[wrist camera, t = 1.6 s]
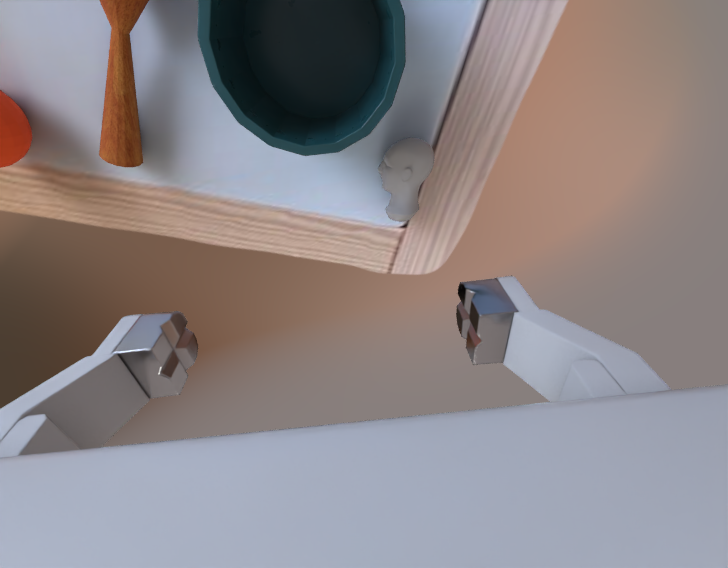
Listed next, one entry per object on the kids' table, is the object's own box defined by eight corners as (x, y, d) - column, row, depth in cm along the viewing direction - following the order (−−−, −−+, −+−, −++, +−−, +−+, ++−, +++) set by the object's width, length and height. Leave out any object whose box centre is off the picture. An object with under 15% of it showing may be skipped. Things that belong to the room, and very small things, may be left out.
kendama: (61, 151, 29) (16, -223, 17) (112, 134, 34) (105, -169, 22) (132, 183, 30) (135, -153, 18) (172, 161, 34) (196, -115, 23)
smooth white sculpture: (390, 127, 34) (441, 140, 34) (373, 203, 39) (417, 216, 38) (382, 133, 31) (438, 149, 30) (364, 216, 35) (412, 231, 35)
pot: (213, -49, 25) (159, -82, 18) (383, -69, 25) (403, -110, 17) (260, 131, 33) (236, 163, 25) (391, 116, 33) (407, 144, 25)
